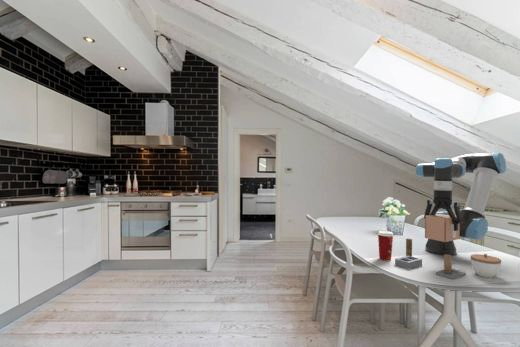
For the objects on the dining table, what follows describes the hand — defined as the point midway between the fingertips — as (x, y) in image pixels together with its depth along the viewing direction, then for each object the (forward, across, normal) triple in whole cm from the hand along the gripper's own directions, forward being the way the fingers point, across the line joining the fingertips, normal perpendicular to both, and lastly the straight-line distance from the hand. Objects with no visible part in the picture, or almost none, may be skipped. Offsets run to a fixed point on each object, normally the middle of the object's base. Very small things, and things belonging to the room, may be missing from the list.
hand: (442, 235), depth 139 cm
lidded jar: (+15, +17, +2) cm, 23 cm away
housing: (+2, 0, 0) cm, 2 cm away
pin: (+15, -15, -3) cm, 21 cm away
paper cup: (+15, -20, -16) cm, 30 cm away
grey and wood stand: (+15, +9, -11) cm, 20 cm away
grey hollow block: (+15, -8, -15) cm, 22 cm away
